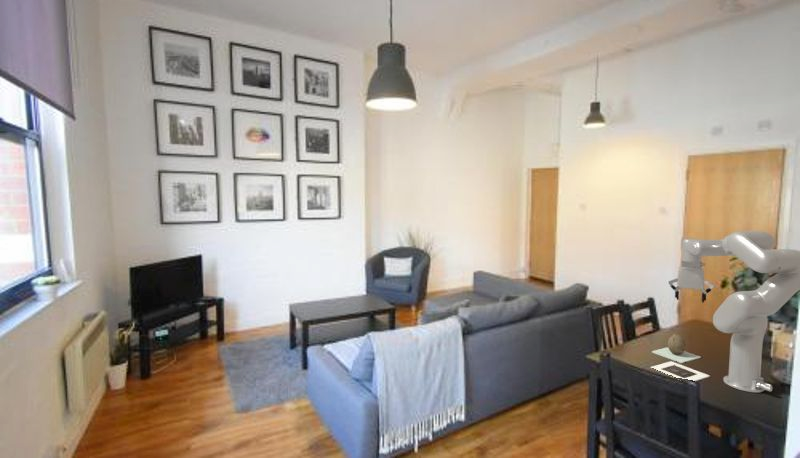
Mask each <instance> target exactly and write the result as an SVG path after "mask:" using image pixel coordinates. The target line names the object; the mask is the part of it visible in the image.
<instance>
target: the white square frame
mask: <svg viewBox="0 0 800 458" xmlns="http://www.w3.org/2000/svg"><path fill="white" fill-rule="evenodd" d="M672 367H678V368H680V369H683V370H686V371H688V372H691V373H694V375H690V376H688V377H684V376H686V375H689V373H688V372H682V373H681V374H682V375H680V376H679V375H677V374H676V372H677V373H679V372H681V370H679V369H676V368H672ZM652 368H654V369H656V370H655V371H657V370H658V371H657V372H659V371H661V372H660V373H662V372H663V373H662V374H664V373H665V375H667V374H668V375H667V376H669V375H672V376H673V377H672V376H671V377H672V378H674V377H676V378H682V379H688V380H693V381H695V382H699V381H701V380H704V379H707V378H710V377H711V376H710V375H709V374H706V373H705V372H701V371H698V370H695V369H693V368H692V367H691V368H690V367H687V366H686V365H682V364H681V363H678V362H676V361H673V360H670V361H666V362H663V363H661V364H657V365H652V366H650V369H652ZM669 368H671V369H670V372H669V371H667V370H665V369H669ZM654 369H653V370H654ZM671 370H672V372H675V373H672V372H671ZM682 376H683V377H682ZM676 378H675V379H676Z"/></svg>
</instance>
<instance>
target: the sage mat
mask: <svg viewBox="0 0 800 458" xmlns="http://www.w3.org/2000/svg"><path fill="white" fill-rule="evenodd" d="M651 354H654V355H655V354H656V355H658V356H660V357H663V358H665V359H669V360H670V361H673V362H676V361H677V362H676V363H678V364H685V362H686V363H689V362H692V361H696V360H699V359H701V358H702V356H700V355H698V354H694V353H691V352H688V351H686V350H685V351H684V353H682V354H680V355H676V354H673V353H672V352H671V351H670V350H669V349H668V346H667V347H663V348H660V349H654V350H652V351H651Z"/></svg>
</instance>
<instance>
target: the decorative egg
mask: <svg viewBox="0 0 800 458" xmlns="http://www.w3.org/2000/svg"><path fill="white" fill-rule="evenodd" d="M667 347H668V349H669V350H670V351H671V352H672V353H673V354H676V355H680V354H682V353H684V351H685V352H686V349H687V344H686V342H685V339H684V338H683V336H681V334H679V333H674V334H673V335H671V336H670V337H669V339H668V341H667Z"/></svg>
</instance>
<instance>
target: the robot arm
mask: <svg viewBox="0 0 800 458" xmlns="http://www.w3.org/2000/svg"><path fill="white" fill-rule="evenodd" d="M774 246H775V238H774V237H773V235H772V234H771V233H768V232H766V231H761V230H749V231H748V230H745V231H744V230H743V231H736V232H734V231H733V233H731V234H728V235H726V236H725V237H724V238H722V239H700V238H692V237H691V238H684V239H682V241H681V265H680V266H679V267H678V272H677V278H675V279H672V280H668V284H669V287H670V288H671V289H672V290H673V291H674V298H676V301H679V299H680V290H681V289H688V290H697V291H698V290H700V291H701V303H705V302H706V301H707V294H708V293H710V292H711V291H712V290H713V289H714V287H715V285H714V283H713V284H712V283H711V282H709V281H707V280H705V273H704V268H703V267H705V266H706V263H705V262H702V257H703V258H704V257H726V256H735V257H736V258H738V259H739V260H740V261H741V262H742V263H743V264H745V265H746V266H747V267H748V268H750V269H751V270H753V271H754V272H757V273H760V274H775V275H773V276H770V277H769V278H767V280H765V281H764V282H763V283H762V285H760V286H759V287H758V288H757V289H754V290H744V291H743V290H741V291H735V292H733V293H731V294H730V295H728V296H727V298H726V299H725V300H724V301H723V302H722V303H721V304H720V305H719V307H718V308H717V309H716V310H715V311H714V314H713V315H712V323H713V326H714V328H715V329H716V330H718V331H719V332H721V333H725V334H732V335H731V338H730V343H729V345H730V346H729V363H728V374H727V375H725V376H723V379H722V380H723V382H724V384H726V385H728V386H729V387H731V388H734V389H737V390H739V391H744V392H748V393H762V392H765V391H767V392H772V391H773V385H772V384H770V383H767V382H765V381H764V377H762V376H761V373H762V372H761V370H762V358H763V357H762V356H763V355H762V354H763V344H764V337H765V333H766V331H767V327H768V319H767V317H769V316H772V315H774V314H775V313H777V312H778V311H779V310H780V309H782V307H783V306H784V305H786V303H787V302H788V301H789V300H790V299H791V298H792V297H793V296H794V295H795V294H796V293H798V292H799V290H800V250H797V249H794V248H793V249H791V248H779V249H777V248H776V249H774ZM676 282H677V286H675V285H674V283H676ZM705 285H706V286H708V288H706V289H705Z"/></svg>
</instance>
